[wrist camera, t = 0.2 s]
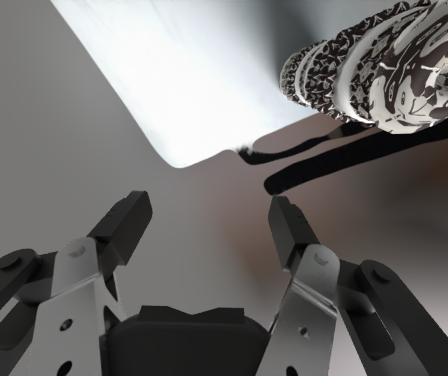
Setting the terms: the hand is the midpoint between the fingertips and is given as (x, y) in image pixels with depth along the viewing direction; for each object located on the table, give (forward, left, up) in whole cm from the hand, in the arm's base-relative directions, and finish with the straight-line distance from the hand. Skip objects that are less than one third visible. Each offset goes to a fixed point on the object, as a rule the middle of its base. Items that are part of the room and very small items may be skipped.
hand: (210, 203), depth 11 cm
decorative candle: (-7, +15, -29) cm, 34 cm away
